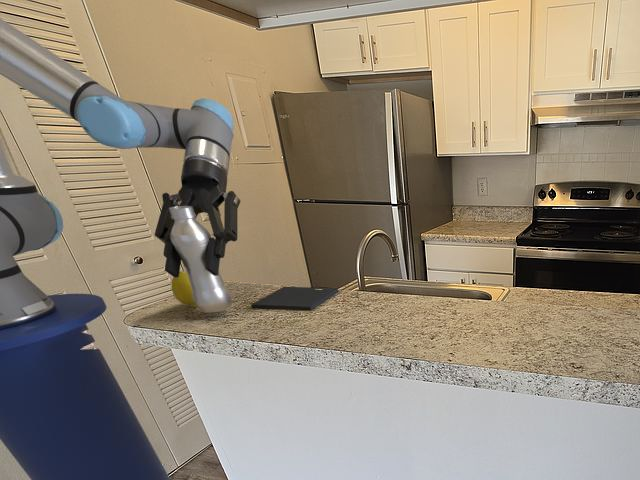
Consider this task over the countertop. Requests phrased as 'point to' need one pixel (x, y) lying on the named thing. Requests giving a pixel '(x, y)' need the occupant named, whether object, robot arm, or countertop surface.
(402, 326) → the countertop surface
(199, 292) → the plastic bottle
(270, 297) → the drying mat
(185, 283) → the lemon
